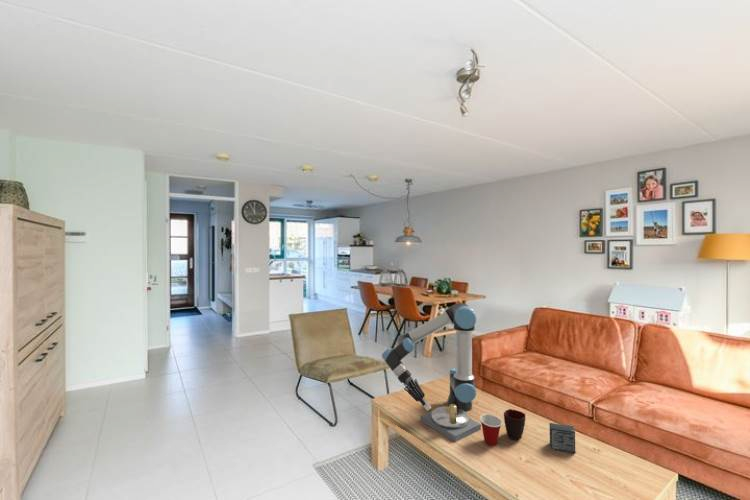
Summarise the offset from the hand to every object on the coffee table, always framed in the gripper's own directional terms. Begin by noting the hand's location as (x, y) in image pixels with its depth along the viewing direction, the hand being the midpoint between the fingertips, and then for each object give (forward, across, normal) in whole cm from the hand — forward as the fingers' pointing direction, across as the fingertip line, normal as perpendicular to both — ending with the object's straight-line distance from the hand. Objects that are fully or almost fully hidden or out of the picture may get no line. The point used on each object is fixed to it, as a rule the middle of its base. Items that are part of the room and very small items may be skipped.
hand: (429, 409), depth 192 cm
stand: (+13, -7, 0) cm, 15 cm away
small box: (+52, -14, +38) cm, 66 cm away
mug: (+37, -15, +23) cm, 46 cm away
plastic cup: (+30, -1, +16) cm, 34 cm away
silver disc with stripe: (+11, -7, +2) cm, 13 cm away
